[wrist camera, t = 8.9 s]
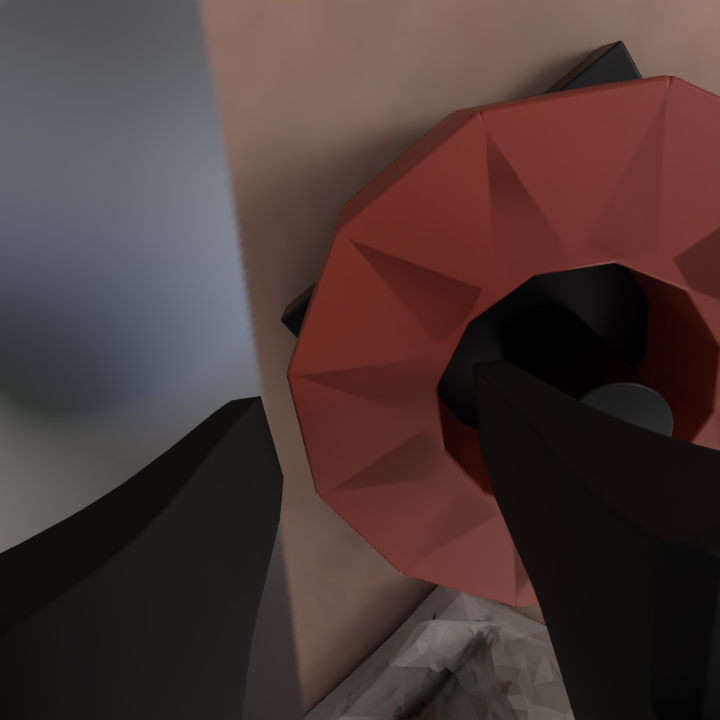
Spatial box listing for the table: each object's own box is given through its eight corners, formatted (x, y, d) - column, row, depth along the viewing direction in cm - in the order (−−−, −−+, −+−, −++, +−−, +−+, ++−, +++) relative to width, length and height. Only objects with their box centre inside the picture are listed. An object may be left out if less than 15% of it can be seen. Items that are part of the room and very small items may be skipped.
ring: (630, -43, 10) (724, -99, 7) (843, 372, 13) (958, 434, 11) (215, 315, 13) (176, 365, 10) (476, 578, 16) (497, 666, 14)
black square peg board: (601, 45, 11) (763, -4, 7) (774, 351, 14) (970, 464, 9) (285, 306, 14) (244, 403, 9) (485, 522, 16) (531, 678, 12)
